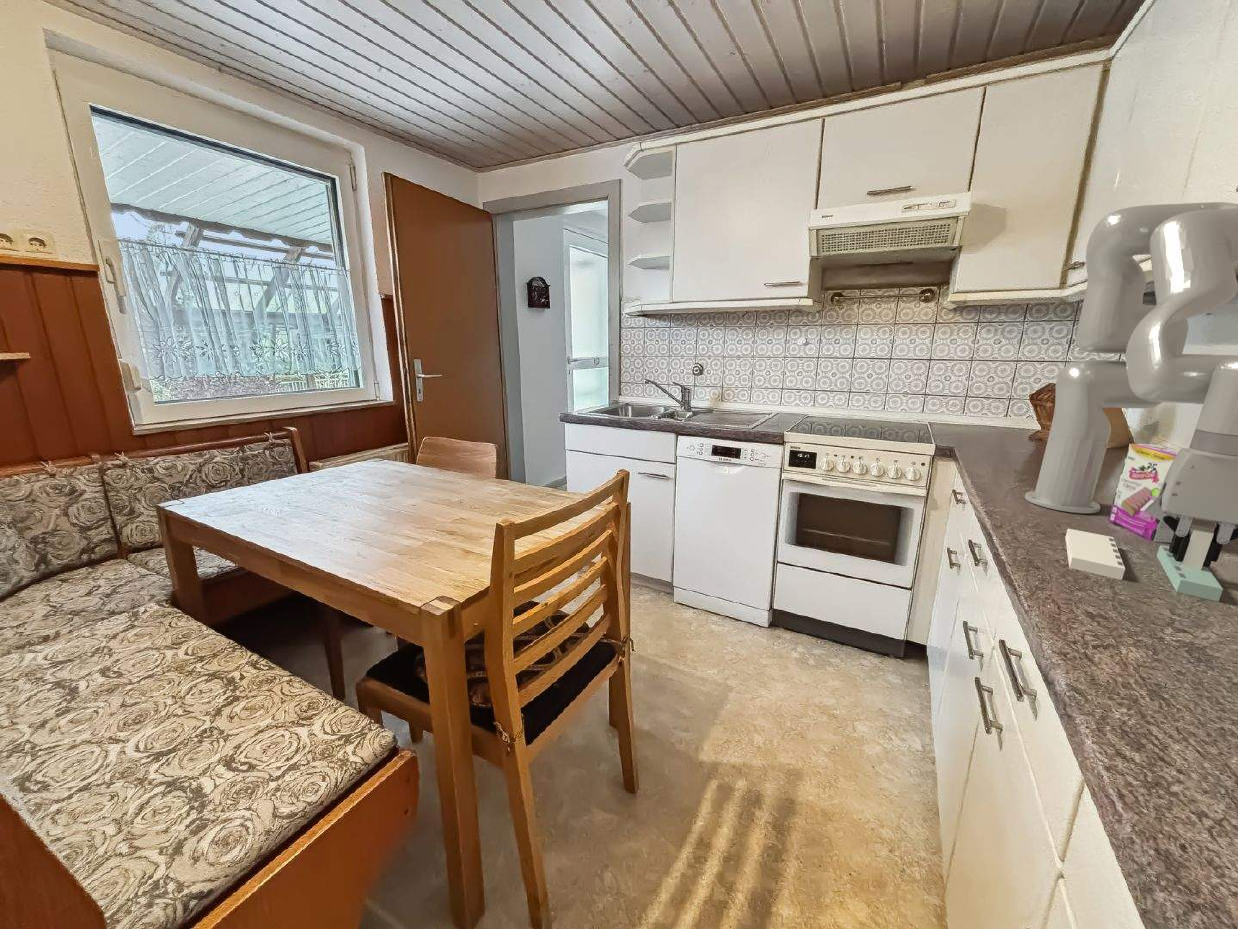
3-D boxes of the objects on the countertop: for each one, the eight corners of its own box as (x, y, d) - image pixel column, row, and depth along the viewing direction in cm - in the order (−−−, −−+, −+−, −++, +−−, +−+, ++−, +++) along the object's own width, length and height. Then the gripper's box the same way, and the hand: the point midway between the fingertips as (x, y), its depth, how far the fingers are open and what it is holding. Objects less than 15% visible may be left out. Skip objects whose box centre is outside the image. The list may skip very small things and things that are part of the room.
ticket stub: (1156, 555, 83) (1171, 511, 81) (1191, 562, 80) (1207, 517, 78) (1176, 592, 71) (1194, 541, 69) (1218, 601, 68) (1237, 549, 66)
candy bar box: (1104, 521, 99) (1127, 442, 95) (1133, 523, 98) (1158, 444, 94) (1150, 543, 89) (1178, 456, 84) (1183, 545, 88) (1213, 457, 83)
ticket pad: (1065, 538, 90) (1067, 528, 90) (1110, 547, 86) (1113, 536, 86) (1069, 568, 78) (1072, 556, 78) (1121, 580, 75) (1125, 568, 74)
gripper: (1310, 449, 68) (1263, 568, 73) (1147, 434, 78) (1115, 540, 83) (1334, 459, 62) (1281, 588, 67) (1155, 441, 72) (1120, 554, 77)
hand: (1190, 560), depth 75 cm, fingers closed on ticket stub, 2 cm apart
